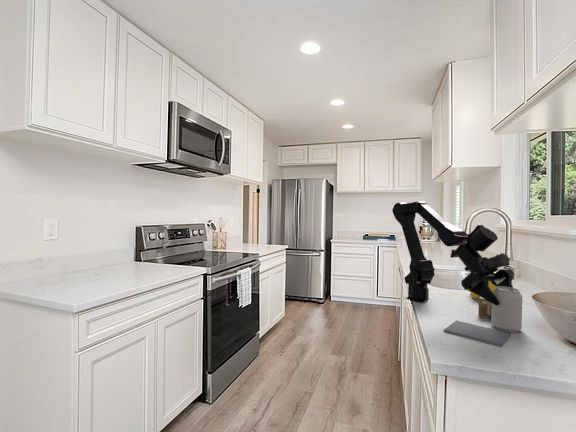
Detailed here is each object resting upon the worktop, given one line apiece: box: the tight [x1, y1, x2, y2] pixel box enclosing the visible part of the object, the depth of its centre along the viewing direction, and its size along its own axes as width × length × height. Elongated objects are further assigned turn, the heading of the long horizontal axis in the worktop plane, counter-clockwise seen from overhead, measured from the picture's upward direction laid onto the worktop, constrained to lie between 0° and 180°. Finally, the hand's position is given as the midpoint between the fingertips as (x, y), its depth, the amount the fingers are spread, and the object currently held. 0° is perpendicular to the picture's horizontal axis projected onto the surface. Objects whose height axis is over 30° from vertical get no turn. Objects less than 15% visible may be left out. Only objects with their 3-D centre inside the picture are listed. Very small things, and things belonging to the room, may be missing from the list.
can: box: [490, 286, 523, 333], centre depth 95 cm, size 8×8×12 cm
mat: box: [443, 319, 511, 348], centre depth 91 cm, size 14×11×1 cm
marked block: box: [477, 297, 492, 319], centre depth 106 cm, size 6×6×6 cm
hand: (507, 302), depth 95 cm, fingers open, 9 cm apart
